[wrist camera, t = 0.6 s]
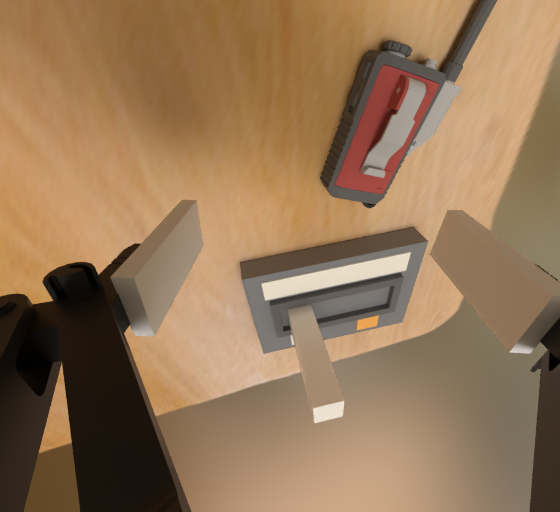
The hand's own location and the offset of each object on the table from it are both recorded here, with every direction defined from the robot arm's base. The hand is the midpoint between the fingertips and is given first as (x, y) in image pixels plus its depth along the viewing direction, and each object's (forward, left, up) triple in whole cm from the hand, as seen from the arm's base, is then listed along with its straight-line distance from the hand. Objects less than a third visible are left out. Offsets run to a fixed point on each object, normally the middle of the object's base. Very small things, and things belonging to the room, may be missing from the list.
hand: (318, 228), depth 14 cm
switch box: (+20, +5, -13) cm, 25 cm away
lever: (+20, 0, -10) cm, 22 cm away
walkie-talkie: (-3, +11, -14) cm, 18 cm away
